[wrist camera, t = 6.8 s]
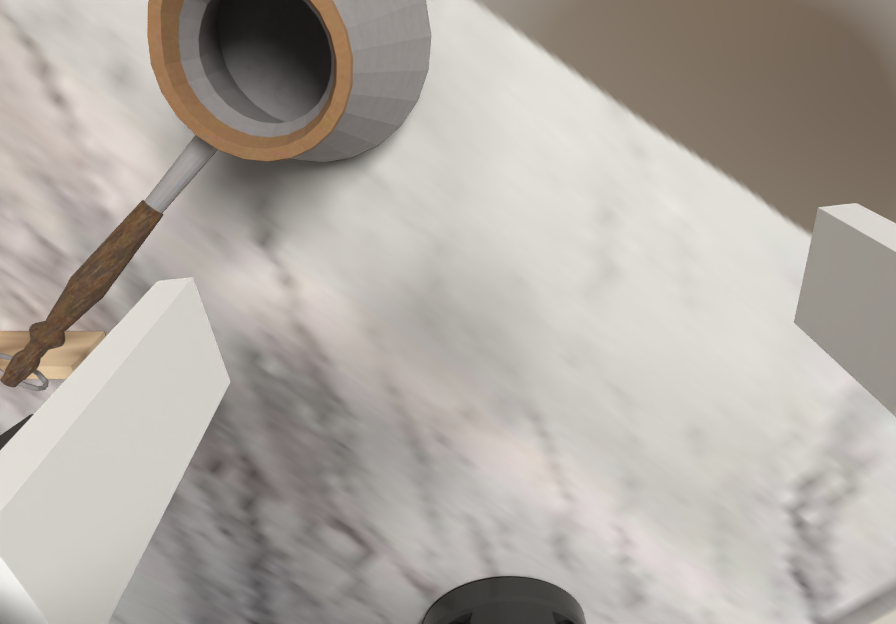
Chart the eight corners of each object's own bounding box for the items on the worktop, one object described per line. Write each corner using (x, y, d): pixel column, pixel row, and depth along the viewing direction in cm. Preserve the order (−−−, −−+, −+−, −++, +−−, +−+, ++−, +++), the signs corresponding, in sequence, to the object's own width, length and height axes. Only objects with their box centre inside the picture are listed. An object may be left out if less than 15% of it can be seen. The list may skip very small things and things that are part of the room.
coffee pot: (294, -168, 26) (154, -332, 13) (477, 30, 30) (514, 61, 17) (67, 178, 33) (-174, 303, 20) (240, 300, 37) (134, 471, 24)
